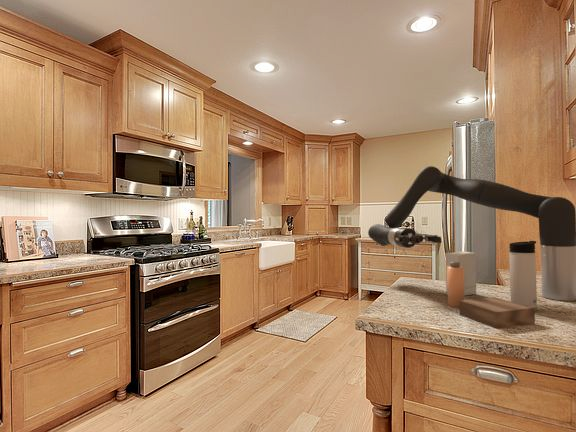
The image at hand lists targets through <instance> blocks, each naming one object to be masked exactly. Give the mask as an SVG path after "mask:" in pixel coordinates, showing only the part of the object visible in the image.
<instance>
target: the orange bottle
mask: <svg viewBox="0 0 576 432" xmlns="http://www.w3.org/2000/svg"><path fill="white" fill-rule="evenodd" d="M447 290H448V293H447V306H448V307H450V308H455V309H456V308H457V309H458V308H459V301H460V300H465V296H464V268H463V267H460V262H450V266H447V284H446V291H447Z"/></svg>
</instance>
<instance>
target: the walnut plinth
mask: <svg viewBox="0 0 576 432" xmlns="http://www.w3.org/2000/svg"><path fill="white" fill-rule="evenodd" d="M535 312H536V311H535V310H534V308H533V307H530V306H526V305H522V304H518V303H514V302H511V300H507V299H503V298H499V297H495V296H492V297H490V296H489V297H482V298H472V299H471V298H470V299H464V300H460V301H459V316H462V317H464V318H468V319H470V320H473V321H475V322H478V323H481V324H484V325H486V326H489V327H492V328H495V329H504V328H511V327H519V325H520V326H526V325H525V324H527V325H533V323H535V324H536V316H535V315H536V314H535Z"/></svg>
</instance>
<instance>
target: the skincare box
mask: <svg viewBox="0 0 576 432" xmlns="http://www.w3.org/2000/svg"><path fill="white" fill-rule="evenodd" d="M450 262H460V267H463V268H464V297H465V296H466V297H467V296H470V295H471V296H472V295H476V294H477V272H476V271H477V270H476V268H477V267H476V266H477V265H476V262H477V261H476V252H472V251H463V250H461V251H454V252H445V271H446V272H445V273H446V275H445V277H446V279H445V281H446V283H445V284H446V285H447V266H450ZM446 293H447V294H448V290H447V289H446Z"/></svg>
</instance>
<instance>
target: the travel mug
mask: <svg viewBox="0 0 576 432" xmlns="http://www.w3.org/2000/svg"><path fill="white" fill-rule="evenodd" d="M536 244H537V241H536V240H529V241H516V242H511V243H509V247H508V248H509V253H508V254H509V283H510V284H509V287H510V289H509V290H510V301H511V302H514V303H518V304H522V305H526V306H530V307H533V308H534V310H535V312H536V311H537V310H538V298H537V295H538V294H537V293H538V292H537V263H536V261H537V260H536V258H537V257H536V250H535V249H536Z"/></svg>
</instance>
